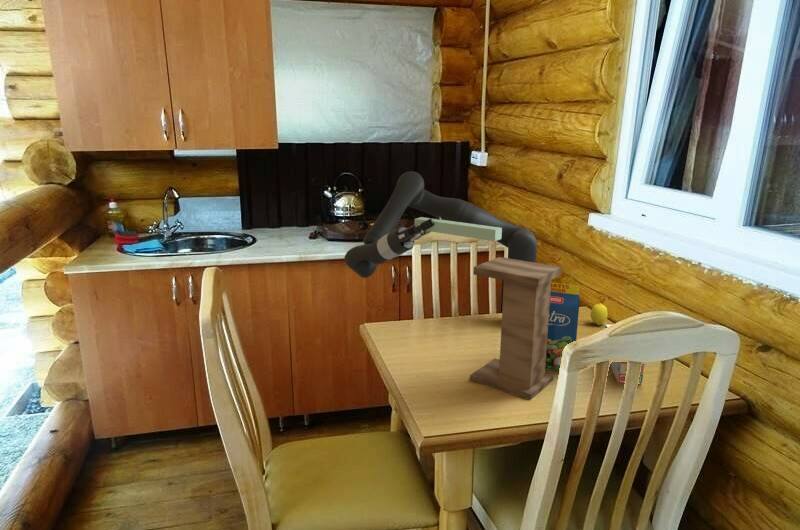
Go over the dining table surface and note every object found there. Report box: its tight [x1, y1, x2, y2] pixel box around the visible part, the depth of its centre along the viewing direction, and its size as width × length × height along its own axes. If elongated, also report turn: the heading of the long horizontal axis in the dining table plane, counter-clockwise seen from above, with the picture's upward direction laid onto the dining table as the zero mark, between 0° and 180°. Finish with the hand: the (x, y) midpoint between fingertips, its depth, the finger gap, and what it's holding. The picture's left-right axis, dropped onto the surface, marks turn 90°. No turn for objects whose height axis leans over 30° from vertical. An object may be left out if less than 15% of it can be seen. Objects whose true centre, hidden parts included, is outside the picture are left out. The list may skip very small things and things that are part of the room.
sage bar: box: [414, 216, 502, 242], centre depth 155 cm, size 4×26×3 cm, turn 52°
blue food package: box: [545, 281, 581, 372], centre depth 159 cm, size 6×12×25 cm, turn 67°
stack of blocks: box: [604, 324, 645, 385], centre depth 160 cm, size 21×6×12 cm, turn 172°
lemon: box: [590, 302, 608, 326], centre depth 194 cm, size 6×6×8 cm
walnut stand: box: [469, 256, 563, 401], centre depth 150 cm, size 14×18×32 cm
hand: (436, 220), depth 158 cm, fingers closed on sage bar, 3 cm apart
